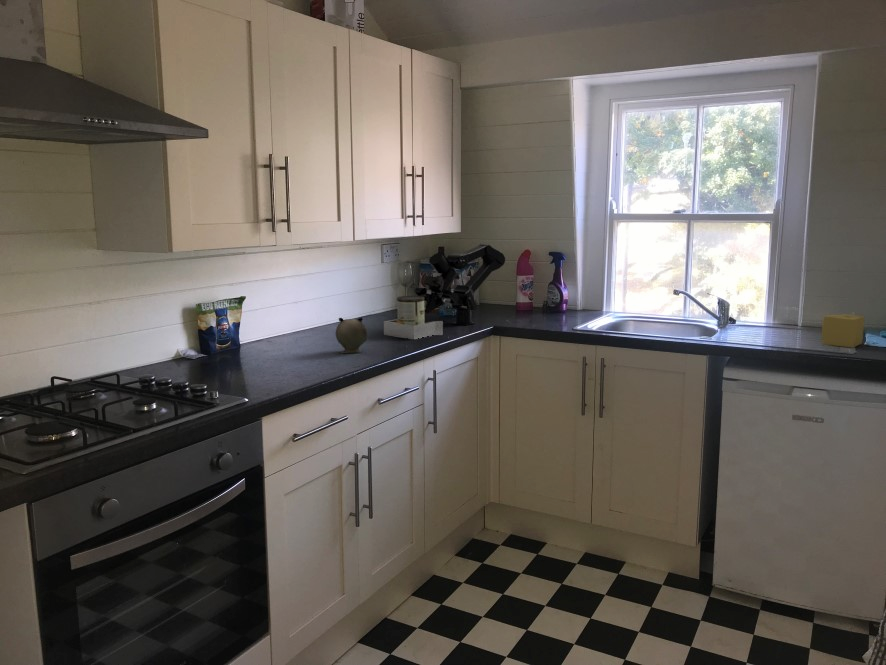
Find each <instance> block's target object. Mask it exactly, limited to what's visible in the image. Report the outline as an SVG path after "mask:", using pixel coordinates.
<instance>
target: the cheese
mask: <svg viewBox="0 0 886 665" xmlns="http://www.w3.org/2000/svg"><path fill="white" fill-rule="evenodd" d="M864 327H865V316H864V315H856V314H847V313H846V314H826V315H824V316H823V320H822V324H821V341H822V342H821V344H822V345H826V346H836V347H844V348H852V349H853V348H855V347H857V346H859V345H862V344H863V337H864Z"/></svg>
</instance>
